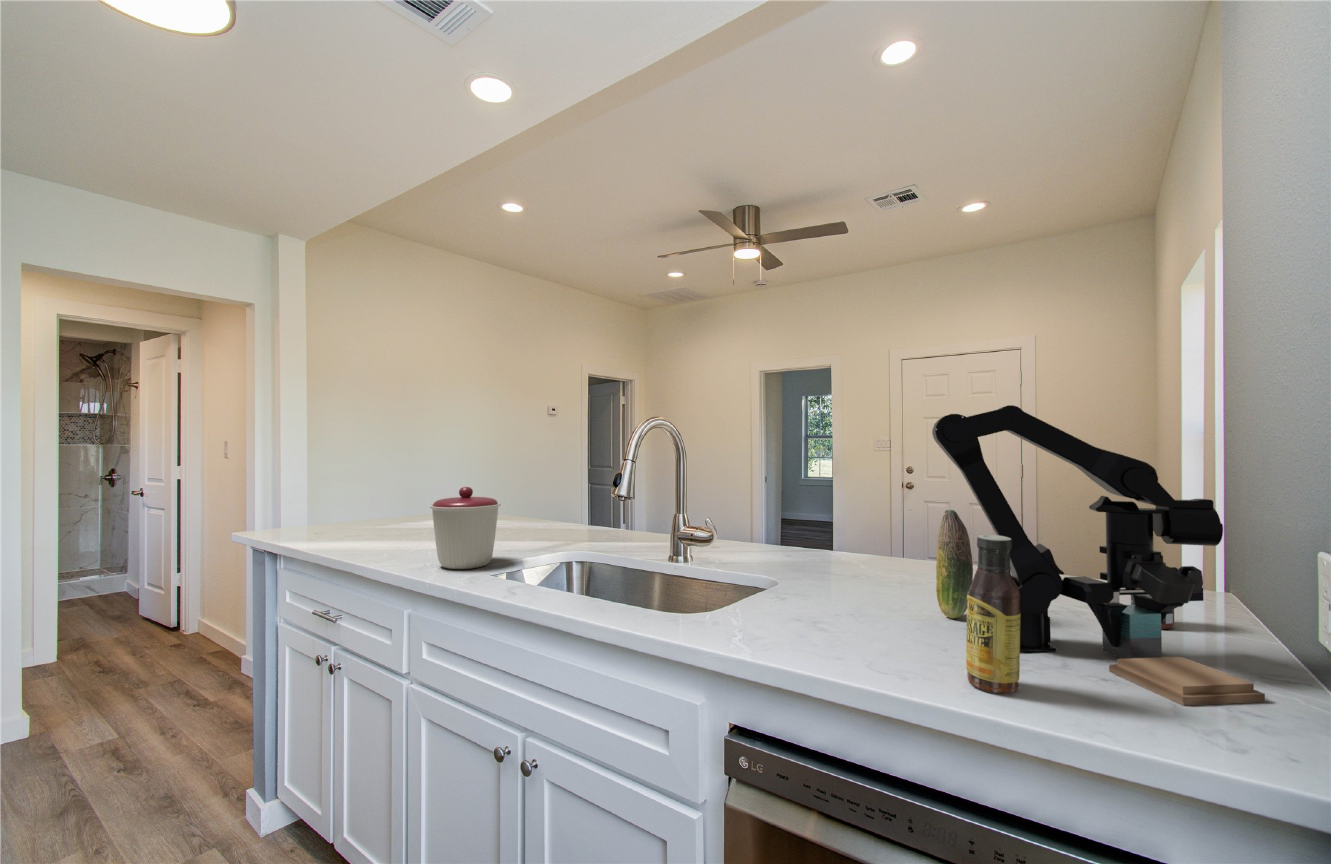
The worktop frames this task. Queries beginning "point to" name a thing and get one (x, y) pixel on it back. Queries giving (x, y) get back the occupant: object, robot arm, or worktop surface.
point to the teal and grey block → (1137, 634)
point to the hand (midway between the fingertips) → (1131, 645)
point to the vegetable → (953, 565)
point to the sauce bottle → (993, 619)
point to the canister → (465, 530)
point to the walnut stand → (1186, 681)
